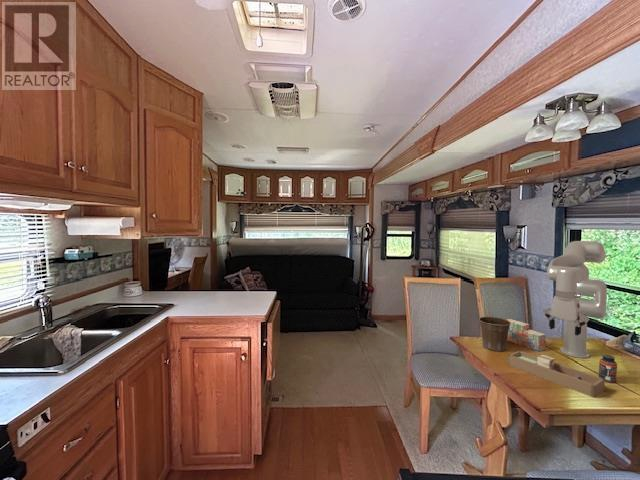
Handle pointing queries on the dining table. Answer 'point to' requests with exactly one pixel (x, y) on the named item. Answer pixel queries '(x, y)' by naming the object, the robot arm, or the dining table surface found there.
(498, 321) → the plant pot
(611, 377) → the supplement bottle
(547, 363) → the birch block
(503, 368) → the dining table surface
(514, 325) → the stack of blocks
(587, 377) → the track
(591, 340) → the dining table surface
